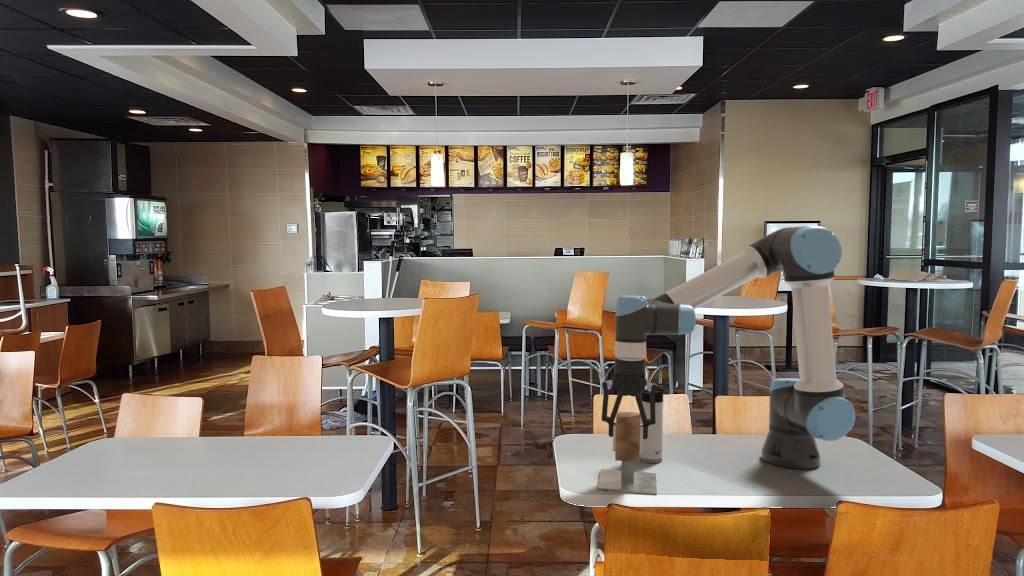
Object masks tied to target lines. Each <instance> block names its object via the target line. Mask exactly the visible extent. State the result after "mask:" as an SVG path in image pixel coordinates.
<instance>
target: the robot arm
mask: <svg viewBox="0 0 1024 576" xmlns="http://www.w3.org/2000/svg"><path fill="white" fill-rule="evenodd" d="M842 254H843V250H842V243H841V242H840V240H839V237H837V235H836V234H835V233H833V231H831V230H830V229H828V228H826V227H824V226H823V227H822V226H817V225H816V226H815V225H804V226H792V227H791V226H789V227H783V228H780V229H777V230H775V231H773V232H770V233H769V234H767V235H766V236H763V237H761V238H759V239H758V240H756V241H754V242H753V243H751V244H749V245H747V246H745V247H744V249H743V252H742V253H740V254H738V255H736V256H734V257H732V258H729V259H728V260H726V261H724V262H722V263H720V264H718V265H716V266H715V267H714V266H713V268H710V269H708V270H707V271H705V272H702V273H701V274H699V275H697V276H695V277H693V278H691V279H689V280H687V281H685V282H683V283H681V284H680V285H677V286H675V287H674V288H672V289H670V290H668V291H665V292H664V293H662V294H660V295H658V296H655V297H654V298H647V297H646V296H645V295H629V294H628V295H627V294H626V295H619V297H617V299H616V304H615V313H614V314H615V315H614V316H615V337H614V338H615V340H614V356H615V359H614V367H613V368H614V372H613V373H614V375H613V377H612V379H609V380H605V379H604V380H602V382H601V387H602V390H603V391H602V392H603V393H602V394H603V395H602V396H603V397H602V410H601V421H602V422H605V423H606V424H608V437H609V438H612V451H613V452H615V449H616V422H615V421H616V416H617V412H619V409H620V405H621V403H622V400H623V397H628V396H630V397H635V401H636V404H637V408H638V411H639V412H638V413H640V415H641V419H642V423H643V424H640V453H642V452H643V439H647V438H648V426H649V425H654V424H655V423H656V419H655V392H656V390H657V388H658V384H657V383H656V382H650V381H648V380H647V378H646V359H644V358H646V351H647V335H678V336H680V335H681V336H682V335H690V334H692V333H693V332H694V330H695V327H696V323H697V320H696V319H697V318H696V317H697V316H696V312H695V310H696V309H698V308H699V307H701V306H703V305H705V304H707V303H710V302H711V301H713V300H715V299H717V298H719V297H721V296H723V295H725V294H727V293H729V292H731V291H732V290H735V289H737V288H738V287H740V286H742V285H744V284H747V283H748V282H751V281H752V280H754V279H756V278H760V279H764V278H766V277H768V276H771V275H774V274H775V273H782V272H783V277H784V279H783V280H784V283H786V284H787V285H788V286H789V287H790V288H791V296H792V307H793V318H794V328H795V329H794V330H795V339H796V340H795V342H796V353H797V364H798V365H797V366H798V374H799V375H798V376H799V378H798V377H796V378H795V377H794V378H793V377H789V378H788V377H786V378H785V377H784V378H783V377H782V378H781V377H780V378H774V379H772V380H771V382H770V386H769V410H768V411H769V413H768V414H769V415H768V416H769V419H768V422H769V423H768V431H767V435H766V437H765V440H764V442H763V445H762V447H761V459H762V461H765V462H766V463H768V464H771V465H774V466H776V467H777V466H778V467H782V468H788V469H797V470H800V469H801V470H806V469H807V470H808V469H816V468H819V467H820V466H821V454H820V450H819V448H818V444H817V440H816V439H819V440H822V441H825V442H834V441H838V440H841V439H842V438H844V437H846V436H847V434H848V432H850V431H851V430H852V429H853V427H854V426H855V425H854V424H855V422H856V410H855V408H854V406H853V404H852V403H851V402H850V401H849V400H848V399H846V398H845V397H846V396H845V388H844V387H845V386H844V383H843V382H841V381H840V380H839V379H838V378H837V371H836V370H837V369H836V359H835V358H836V357H835V350H834V349H835V348H834V336H833V333H834V332H833V323H832V311H831V302H830V301H831V300H830V299H831V297H830V287H829V285H830V284H831V282H832V281H834V279H835V269H836V268H837V266H838V264H839V263H840V261H841V260H842V256H843V255H842ZM612 385H613V386H614V388H615V389H616V390H617V395H616V398H615V400H614V401H615V402H614V404H613V408H612V410H611V413H610V415H609V416H608V411H609V410H608V407H609V396H610V390H611V389H612ZM645 387H646V388H647V389H648V391H649V392H650V419H647V416H646V413H645V409H644V406H643V402H642V399H641V392H642V390H644V389H645Z"/></svg>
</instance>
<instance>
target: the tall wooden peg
mask: <svg viewBox="0 0 1024 576" xmlns="http://www.w3.org/2000/svg"><path fill="white" fill-rule="evenodd" d="M615 423H616V449H615V451H614V453H615V454H614V455H615V458H614V459H615V460H614V461H618V462H619V461H620V462H622V461H630V462H634V463H640V459H639V453H640V412H633V411H632V412H631V411H630V412H628V411H617V414H616V417H615Z"/></svg>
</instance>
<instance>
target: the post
mask: <svg viewBox="0 0 1024 576" xmlns="http://www.w3.org/2000/svg"><path fill="white" fill-rule="evenodd" d="M596 490H597V491H602V490H609V491H608V492H615V491H620V492H619V493H628V492H631V493H632V494H644V495H658V490H657V473H655V472H645V471H644V472H643V471H641V472H640V471H635V462H630V461H621V470H616V469H615V470H614V469H604V468H601V469H600V473H599V478H598V484H597V489H596ZM631 493H630V494H631Z"/></svg>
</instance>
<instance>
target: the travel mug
mask: <svg viewBox="0 0 1024 576" xmlns="http://www.w3.org/2000/svg"><path fill="white" fill-rule="evenodd" d="M665 392H666V389H665V388H658V387H657V390H656V392H655V419H656V423H655V424H654V425H649V426H648V438H647V439H643V452H642V453H639V461H640V462H643V463H647V464H660V463H661V462H662V461H663V440H664V439H663V437H664V435H663V434H664V433H663V432H664V393H665ZM640 395H641V399H642V402H643V406H644V409H645V413H646V416H647V419H650V392H649V391H648V388H646V389H645V388H644V389H643V390H642V391H641V392H640ZM640 424H643V423H642V419H641V415H640Z"/></svg>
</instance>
